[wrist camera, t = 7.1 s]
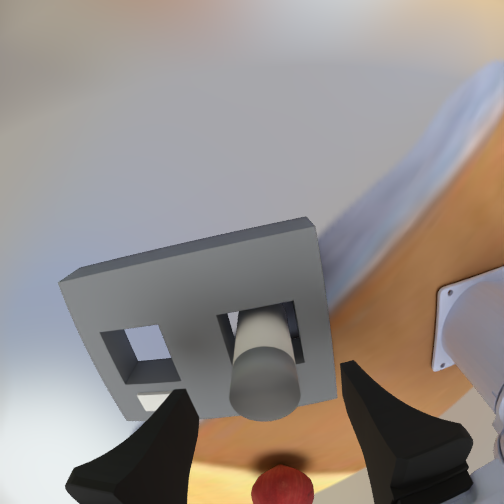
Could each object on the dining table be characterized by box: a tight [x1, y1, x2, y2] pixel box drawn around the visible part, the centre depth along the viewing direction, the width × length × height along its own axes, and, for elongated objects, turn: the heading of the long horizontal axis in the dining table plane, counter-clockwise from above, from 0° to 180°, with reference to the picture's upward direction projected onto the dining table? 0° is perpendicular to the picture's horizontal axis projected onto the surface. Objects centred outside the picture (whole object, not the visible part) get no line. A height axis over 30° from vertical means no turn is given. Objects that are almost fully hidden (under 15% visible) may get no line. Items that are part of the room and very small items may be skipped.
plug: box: [229, 303, 301, 421], centre depth 16 cm, size 3×3×8 cm
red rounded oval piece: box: [251, 464, 314, 504], centre depth 21 cm, size 6×6×8 cm
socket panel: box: [58, 217, 337, 421], centre depth 19 cm, size 16×12×3 cm
